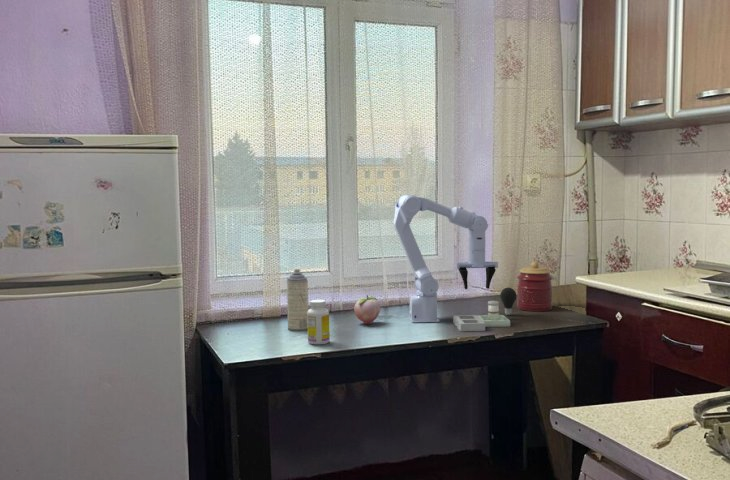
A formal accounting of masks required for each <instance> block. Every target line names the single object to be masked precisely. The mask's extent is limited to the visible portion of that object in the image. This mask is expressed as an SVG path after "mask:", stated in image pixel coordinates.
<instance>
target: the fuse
mask: <svg viewBox="0 0 730 480" xmlns="http://www.w3.org/2000/svg"><path fill="white" fill-rule="evenodd" d="M487 315H488V321H491V320H499V315H500V301H499V300H498V301H497V300H488V301H487Z"/></svg>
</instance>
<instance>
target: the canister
mask: <svg viewBox="0 0 730 480" xmlns="http://www.w3.org/2000/svg"><path fill="white" fill-rule="evenodd" d="M519 272H520V274H518V275H517V276H516V278H517V279H518V281H517V282H518V283H517V285H516V287H517V291H516V299H517V300H516V306H517V307H516V308H517V309H518V310H522V311H527V312H546V311H551V310H552V309H553V288H554V287H553V284H552V280H553V279H554V277H553V276H552V275H551V270H550V269H548V268H547V267H545V266H540V264H539V263H538V261H532V262H531V266H524V267H522V268H521V269H520V270H519Z"/></svg>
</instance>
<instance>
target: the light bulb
mask: <svg viewBox="0 0 730 480" xmlns="http://www.w3.org/2000/svg"><path fill="white" fill-rule="evenodd" d="M499 296H500V299H501V302H502V304H503V308H504V314H505V315H506V316H507V317H509V316H510V315H511V314H512V313H513V310H512V309H513V305H514V303H515V301H517V300H516V299H517V291H515V289H513V288H512V287H505V288H503V289H502V290H501V292H500V295H499Z"/></svg>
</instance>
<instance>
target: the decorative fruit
mask: <svg viewBox="0 0 730 480" xmlns="http://www.w3.org/2000/svg"><path fill="white" fill-rule="evenodd" d="M353 309H354V314H355V316H356V317H357V319H358V320H359V321H361V322H362V323H364V324H366V325H369V324H371V323H373V322H375V320H376V319H377V318H378V316H379V314H380V313H381V305H380V303H379V302H378V299H377V298H376V297H374V296H368V294H367V295H366V297H365V298H360V299H359V300H357V302H355V304H354V308H353Z"/></svg>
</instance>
